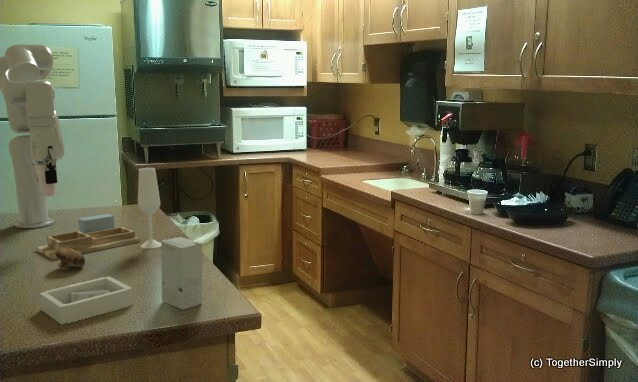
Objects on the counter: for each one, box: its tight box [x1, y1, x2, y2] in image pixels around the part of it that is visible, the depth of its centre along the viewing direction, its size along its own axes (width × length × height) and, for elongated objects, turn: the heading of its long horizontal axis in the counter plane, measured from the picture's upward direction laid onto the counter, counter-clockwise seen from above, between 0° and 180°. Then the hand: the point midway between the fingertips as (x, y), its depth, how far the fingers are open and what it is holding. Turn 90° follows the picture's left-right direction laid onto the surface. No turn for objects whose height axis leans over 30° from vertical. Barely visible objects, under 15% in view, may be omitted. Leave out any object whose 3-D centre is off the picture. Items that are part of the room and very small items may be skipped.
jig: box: [36, 226, 141, 261], centre depth 189 cm, size 13×27×4 cm, turn 134°
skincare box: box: [160, 236, 203, 311], centre depth 141 cm, size 8×6×15 cm
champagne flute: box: [137, 167, 161, 249], centre depth 187 cm, size 7×7×24 cm
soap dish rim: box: [39, 276, 134, 325], centre depth 139 cm, size 12×16×4 cm
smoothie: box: [34, 159, 58, 197], centre depth 185 cm, size 6×6×14 cm
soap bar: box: [69, 289, 110, 303], centre depth 141 cm, size 10×6×6 cm, turn 108°
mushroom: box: [56, 248, 86, 272], centre depth 167 cm, size 8×8×6 cm
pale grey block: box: [78, 213, 116, 234], centre depth 203 cm, size 4×10×6 cm, turn 131°
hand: (47, 181), depth 186 cm, fingers closed on smoothie, 6 cm apart
